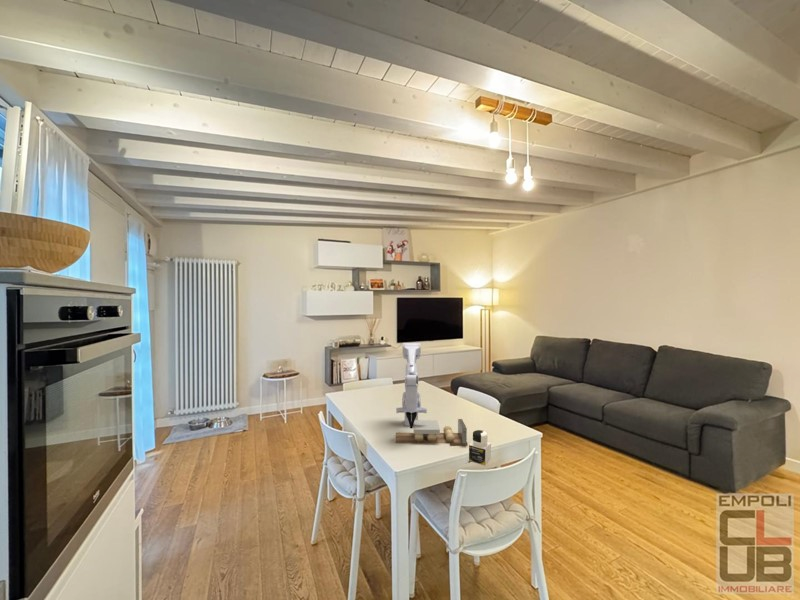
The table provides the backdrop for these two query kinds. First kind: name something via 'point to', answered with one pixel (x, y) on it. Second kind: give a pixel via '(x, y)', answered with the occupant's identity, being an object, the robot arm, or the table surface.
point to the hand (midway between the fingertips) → (411, 427)
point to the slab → (426, 427)
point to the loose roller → (449, 434)
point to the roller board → (438, 439)
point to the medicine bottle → (480, 448)
